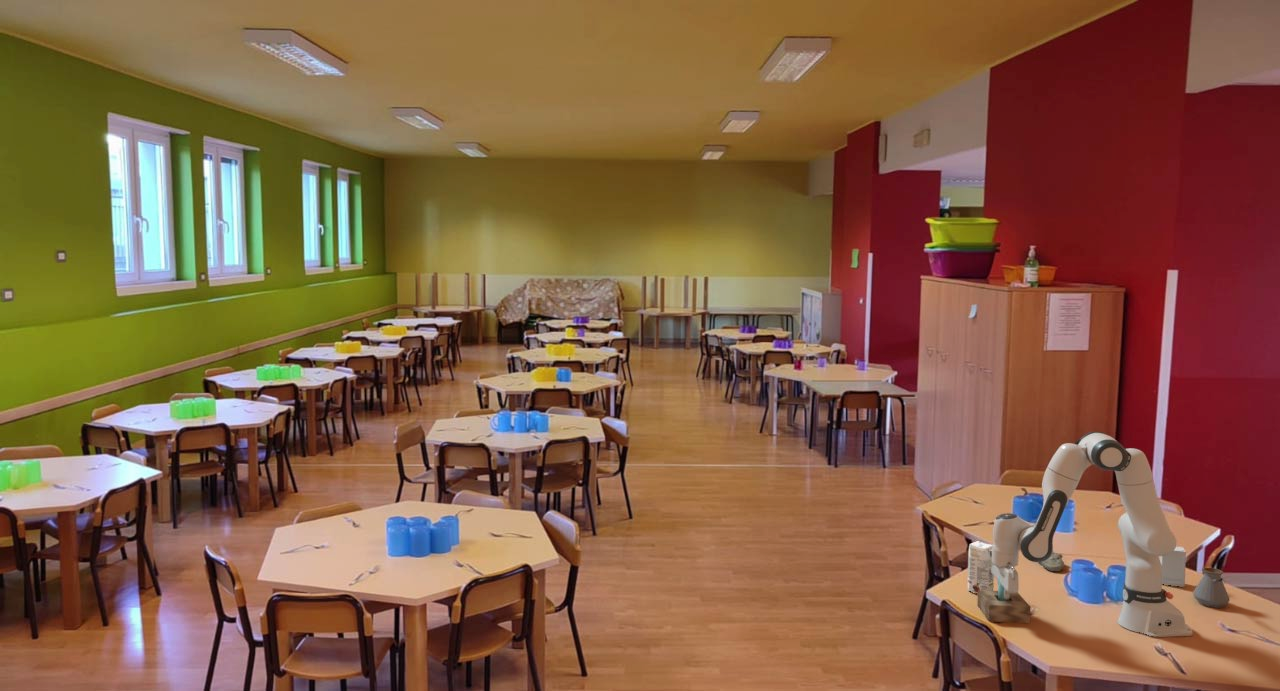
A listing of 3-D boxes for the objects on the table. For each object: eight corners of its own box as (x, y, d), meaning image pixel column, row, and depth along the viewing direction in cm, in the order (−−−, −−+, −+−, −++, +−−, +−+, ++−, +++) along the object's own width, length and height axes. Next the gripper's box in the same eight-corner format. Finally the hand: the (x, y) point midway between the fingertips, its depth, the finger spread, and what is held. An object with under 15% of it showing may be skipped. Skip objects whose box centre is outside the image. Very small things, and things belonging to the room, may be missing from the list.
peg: (1006, 607, 313) (1007, 575, 312) (1009, 611, 309) (1011, 578, 308) (996, 606, 313) (997, 574, 312) (999, 610, 310) (1000, 578, 309)
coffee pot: (1189, 595, 329) (1192, 557, 327) (1225, 600, 324) (1228, 562, 323) (1200, 616, 309) (1203, 576, 308) (1238, 622, 305) (1241, 581, 303)
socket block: (1016, 607, 318) (1017, 591, 317) (1029, 622, 304) (1030, 606, 303) (977, 605, 319) (977, 590, 319) (988, 621, 305) (989, 605, 305)
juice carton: (985, 597, 327) (987, 549, 325) (964, 591, 334) (966, 543, 332) (995, 592, 332) (997, 545, 330) (974, 586, 338) (976, 539, 337)
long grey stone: (1046, 549, 386) (1023, 549, 388) (1046, 538, 386) (1022, 538, 388) (1069, 573, 352) (1043, 572, 354) (1069, 560, 352) (1043, 560, 354)
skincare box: (1182, 583, 342) (1184, 546, 340) (1185, 588, 336) (1187, 551, 335) (1157, 580, 345) (1160, 544, 344) (1160, 585, 340) (1162, 548, 338)
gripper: (1024, 568, 299) (1022, 607, 300) (1005, 549, 319) (1003, 585, 321) (1005, 568, 300) (1003, 606, 301) (987, 548, 320) (986, 584, 321)
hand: (1003, 595), depth 311 cm, fingers closed on peg, 4 cm apart
